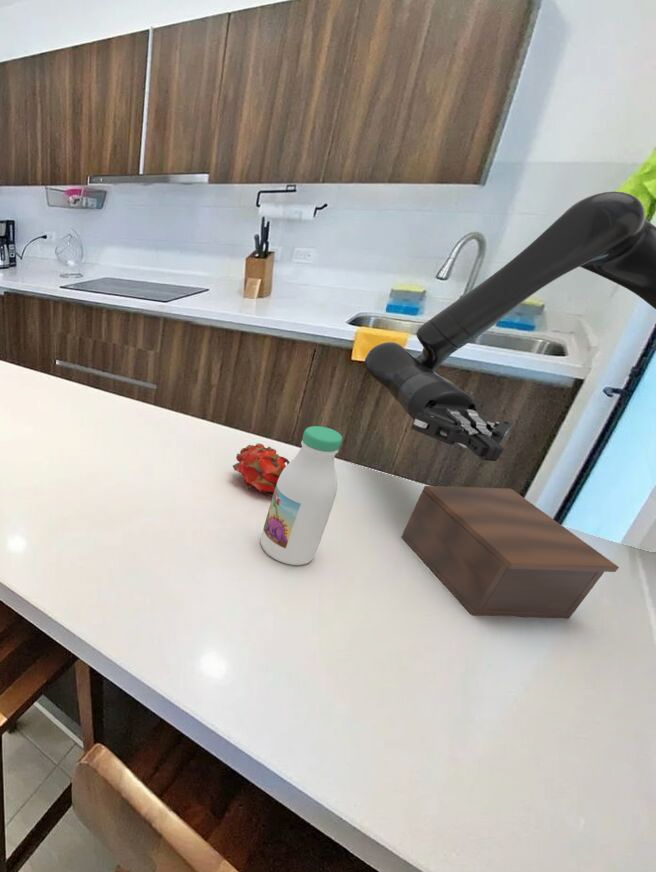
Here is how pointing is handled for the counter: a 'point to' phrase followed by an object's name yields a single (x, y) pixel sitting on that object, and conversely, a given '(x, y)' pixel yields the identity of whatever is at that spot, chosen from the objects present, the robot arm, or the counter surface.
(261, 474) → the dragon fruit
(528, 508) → the tea lid
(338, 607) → the counter surface
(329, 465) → the milk bottle
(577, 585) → the tea box
